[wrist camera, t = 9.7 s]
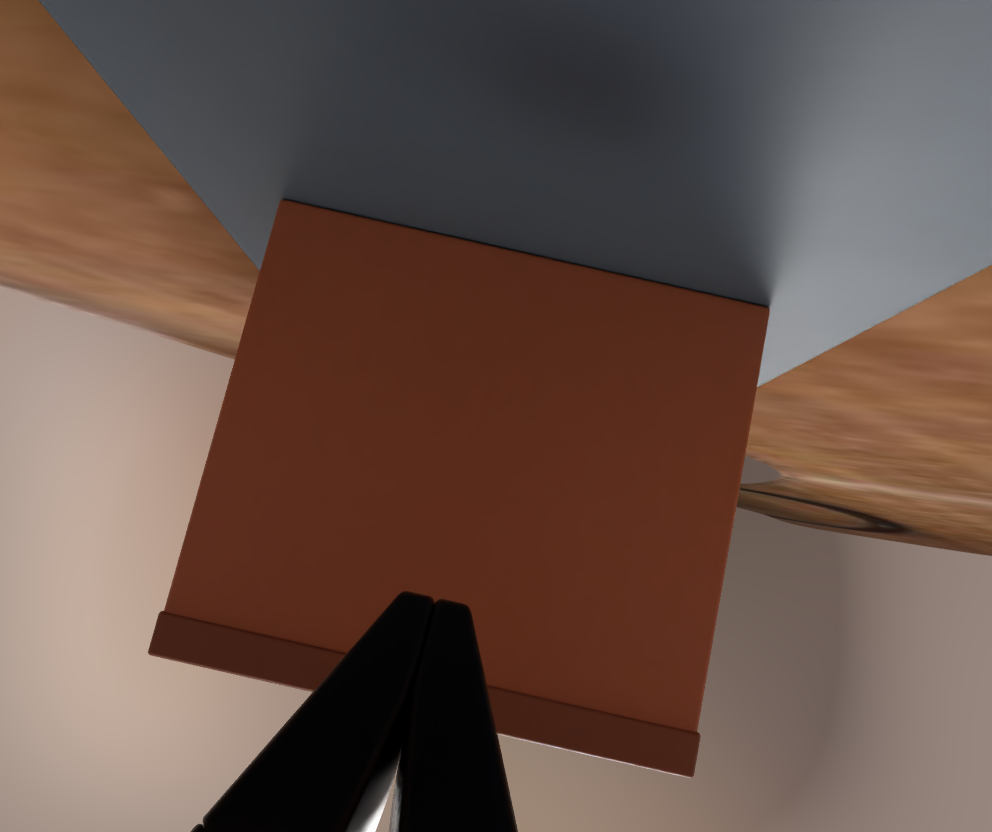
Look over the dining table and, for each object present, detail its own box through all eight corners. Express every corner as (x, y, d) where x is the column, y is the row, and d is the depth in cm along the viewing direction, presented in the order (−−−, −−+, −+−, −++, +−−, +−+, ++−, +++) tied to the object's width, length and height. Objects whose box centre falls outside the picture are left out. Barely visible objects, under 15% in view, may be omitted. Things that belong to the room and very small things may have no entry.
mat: (-248, -379, 6) (-258, -358, 6) (1464, -3, 6) (1463, 20, 6) (328, 349, 31) (327, 354, 31) (673, 426, 31) (672, 432, 31)
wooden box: (275, 194, 15) (146, 654, 14) (775, 306, 15) (694, 780, 14) (370, 356, 29) (309, 595, 28) (632, 415, 29) (584, 657, 28)
